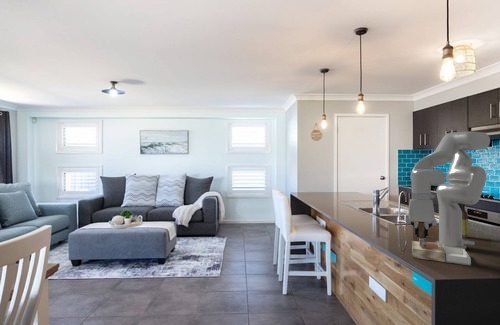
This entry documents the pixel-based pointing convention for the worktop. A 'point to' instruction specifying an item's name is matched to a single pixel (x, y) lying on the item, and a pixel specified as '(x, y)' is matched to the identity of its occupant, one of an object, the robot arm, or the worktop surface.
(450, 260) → the box
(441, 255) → the board
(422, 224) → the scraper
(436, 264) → the worktop surface
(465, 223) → the sauce bottle
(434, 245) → the block
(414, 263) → the worktop surface
